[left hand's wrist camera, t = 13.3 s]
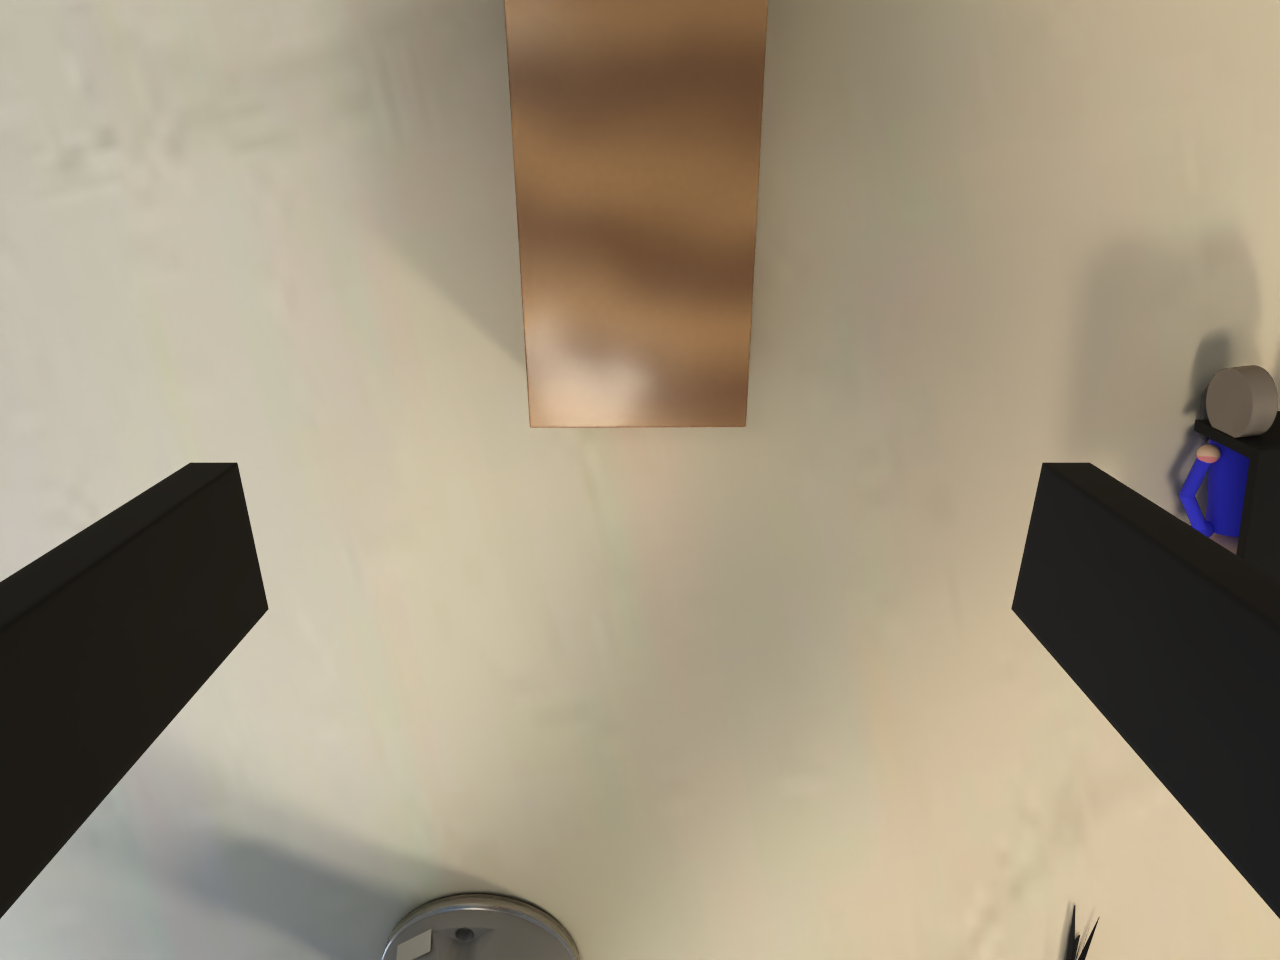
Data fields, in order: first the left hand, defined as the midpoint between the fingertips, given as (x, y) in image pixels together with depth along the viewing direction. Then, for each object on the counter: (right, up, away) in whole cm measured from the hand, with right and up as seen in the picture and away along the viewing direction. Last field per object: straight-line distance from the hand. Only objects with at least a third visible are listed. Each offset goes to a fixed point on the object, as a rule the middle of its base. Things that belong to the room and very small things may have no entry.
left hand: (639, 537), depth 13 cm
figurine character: (+34, +1, +31) cm, 46 cm away
